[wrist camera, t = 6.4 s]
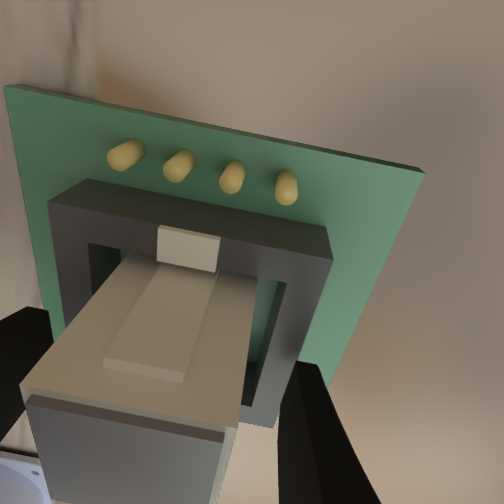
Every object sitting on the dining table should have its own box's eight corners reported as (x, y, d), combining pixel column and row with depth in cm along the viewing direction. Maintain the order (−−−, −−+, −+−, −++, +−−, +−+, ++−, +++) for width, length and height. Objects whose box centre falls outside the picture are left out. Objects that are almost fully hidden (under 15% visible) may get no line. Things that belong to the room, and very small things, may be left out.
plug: (241, 342, 13) (210, 534, 8) (142, 322, 13) (42, 501, 8) (262, 250, 11) (238, 429, 6) (144, 226, 11) (7, 383, 6)
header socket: (310, 412, 16) (314, 475, 13) (63, 362, 16) (22, 417, 13) (418, 167, 10) (461, 202, 7) (18, 84, 10) (-72, 92, 7)
